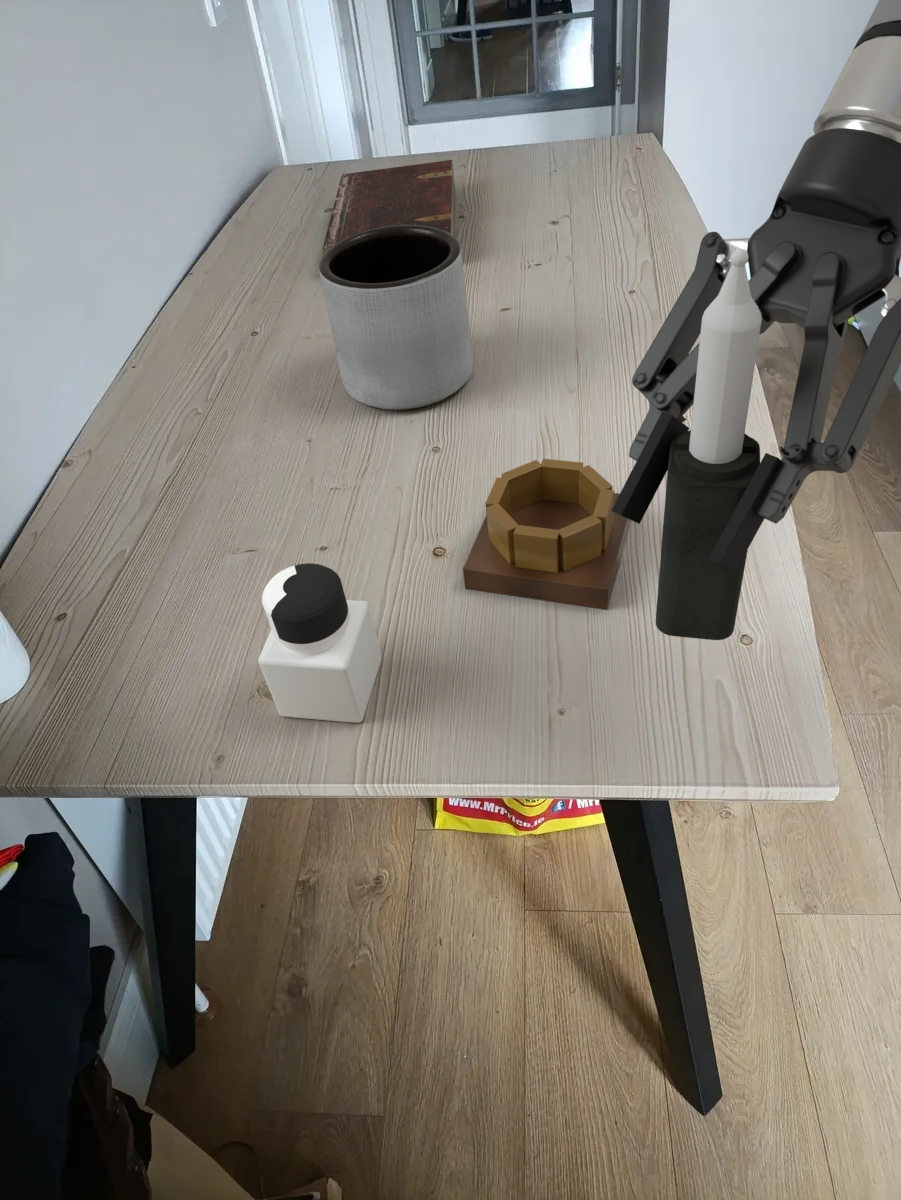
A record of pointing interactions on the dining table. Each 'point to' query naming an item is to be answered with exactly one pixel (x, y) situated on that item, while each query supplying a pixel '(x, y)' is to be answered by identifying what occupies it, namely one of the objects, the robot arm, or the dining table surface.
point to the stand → (549, 536)
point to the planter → (398, 315)
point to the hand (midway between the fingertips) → (672, 539)
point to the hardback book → (393, 200)
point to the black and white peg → (711, 469)
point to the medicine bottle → (318, 646)
